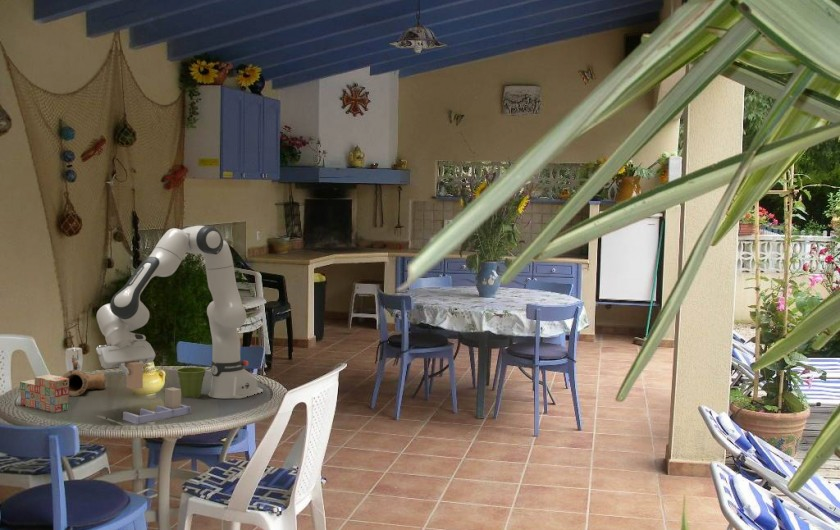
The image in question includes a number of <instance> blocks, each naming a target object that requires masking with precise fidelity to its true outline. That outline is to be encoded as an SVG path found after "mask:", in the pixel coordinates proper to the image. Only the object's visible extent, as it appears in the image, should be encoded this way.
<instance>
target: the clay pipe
mask: <svg viewBox="0 0 840 530" xmlns="http://www.w3.org/2000/svg"><path fill="white" fill-rule="evenodd" d="M62 377H64V378H68V379H69V397H78V396H80V395H83V393H85V392H86V391H87V390H92V389H96V390H103V389H104V388H105V387H106V381H107V380H106V373H105V372H100V373H95V374H86V373H85V372H84V371H82V370H81V371H79V370H71V371H68V372H67V371H66V372H65V373H64V375H63V376H62Z"/></svg>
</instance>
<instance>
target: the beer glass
mask: <svg viewBox="0 0 840 530" xmlns="http://www.w3.org/2000/svg"><path fill="white" fill-rule="evenodd" d="M83 357H84V356H83V348H82V347H68V348H65V356H64V358H65V359H64V360H65V368H66V373H67V372H68V371H71V370H79V371H82V367H83V364H84V363H83V362H84V360H83Z"/></svg>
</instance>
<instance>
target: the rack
mask: <svg viewBox="0 0 840 530" xmlns="http://www.w3.org/2000/svg"><path fill="white" fill-rule="evenodd" d="M191 407H192V406H190V405H186V404H182V403H181V408H178V409H169V408H166V407H165V406H162V405H156V406H155V411H153V410H149V409H146V408H143V407H142V408H139V415H138V414H135V413H132V412H128V411H123V412H122V420H123V421H127V422H130V423H132V424H134V425H135V424H136V425H140V424H146V423H149V422H155V421H160V420H166V419H170V418H177V417H179V416H184V415H186V416H187V415H189V414H190V415H191V414H192V408H191Z"/></svg>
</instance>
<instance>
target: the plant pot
mask: <svg viewBox="0 0 840 530" xmlns="http://www.w3.org/2000/svg"><path fill="white" fill-rule="evenodd" d="M206 371H207V368H205V367H199V366H197V367H196V366H187V367H186V366H185V367H181V368H180V367H179V368H177V369H176V370H175V372H177V376H178V379H179V386H180V388H179V389H181V398H185V397H187V398H194V399H198V398H200V397H201V394H202V389H203V384H204V383H203V382H204V378H205V375H206Z"/></svg>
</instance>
